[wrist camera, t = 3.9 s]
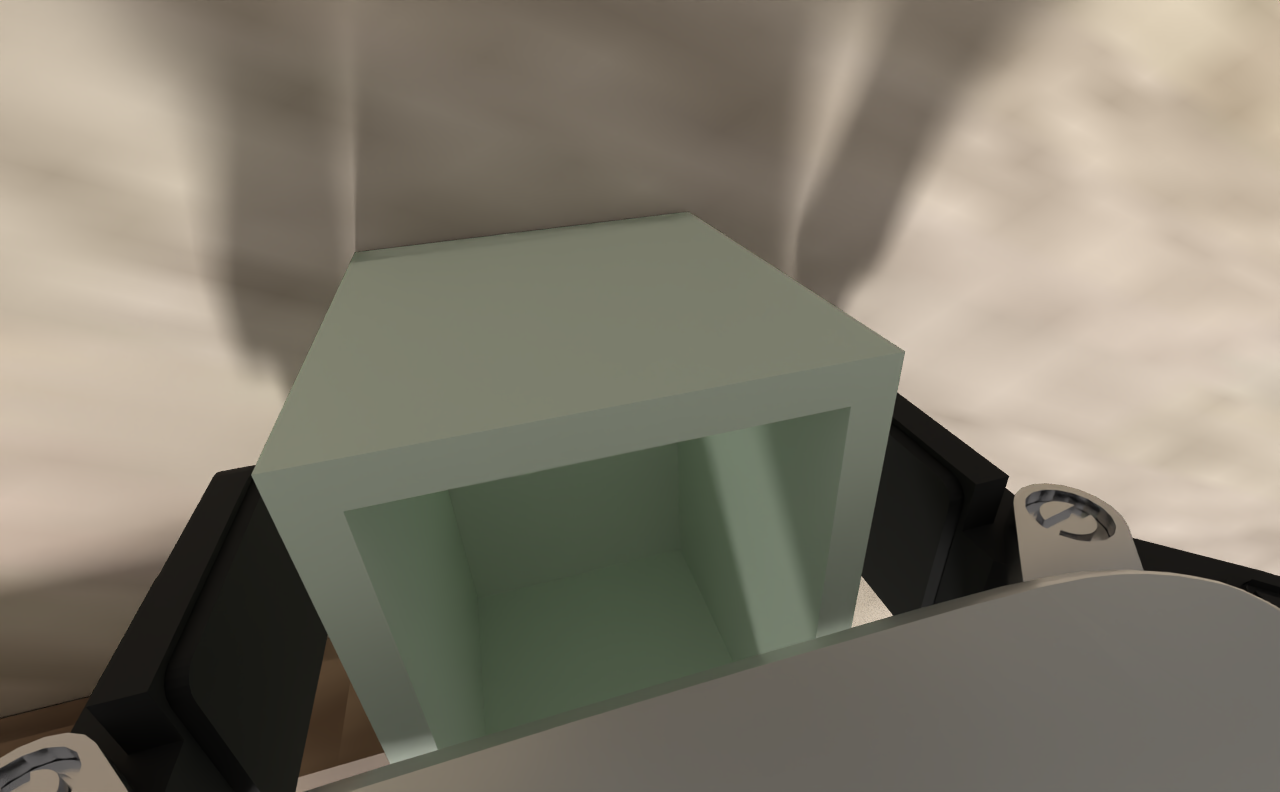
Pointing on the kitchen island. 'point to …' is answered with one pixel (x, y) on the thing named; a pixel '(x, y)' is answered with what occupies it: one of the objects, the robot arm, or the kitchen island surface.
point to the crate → (331, 746)
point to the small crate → (573, 470)
